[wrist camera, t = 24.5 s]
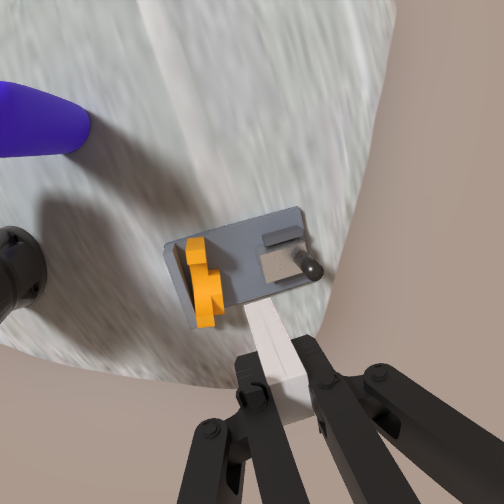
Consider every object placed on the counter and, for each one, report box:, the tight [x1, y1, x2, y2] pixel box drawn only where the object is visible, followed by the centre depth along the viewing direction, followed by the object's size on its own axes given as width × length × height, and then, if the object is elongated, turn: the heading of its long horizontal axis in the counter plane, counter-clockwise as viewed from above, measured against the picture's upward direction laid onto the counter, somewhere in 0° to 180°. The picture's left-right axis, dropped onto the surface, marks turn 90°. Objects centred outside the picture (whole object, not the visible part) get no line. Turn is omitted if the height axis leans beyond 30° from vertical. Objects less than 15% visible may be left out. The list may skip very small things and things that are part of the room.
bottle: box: [0, 81, 90, 158], centre depth 25 cm, size 8×8×30 cm
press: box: [163, 206, 310, 329], centre depth 48 cm, size 22×13×6 cm, turn 104°
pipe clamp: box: [186, 237, 225, 328], centre depth 45 cm, size 12×4×6 cm, turn 4°
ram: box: [255, 237, 324, 283], centre depth 44 cm, size 7×5×10 cm, turn 104°
